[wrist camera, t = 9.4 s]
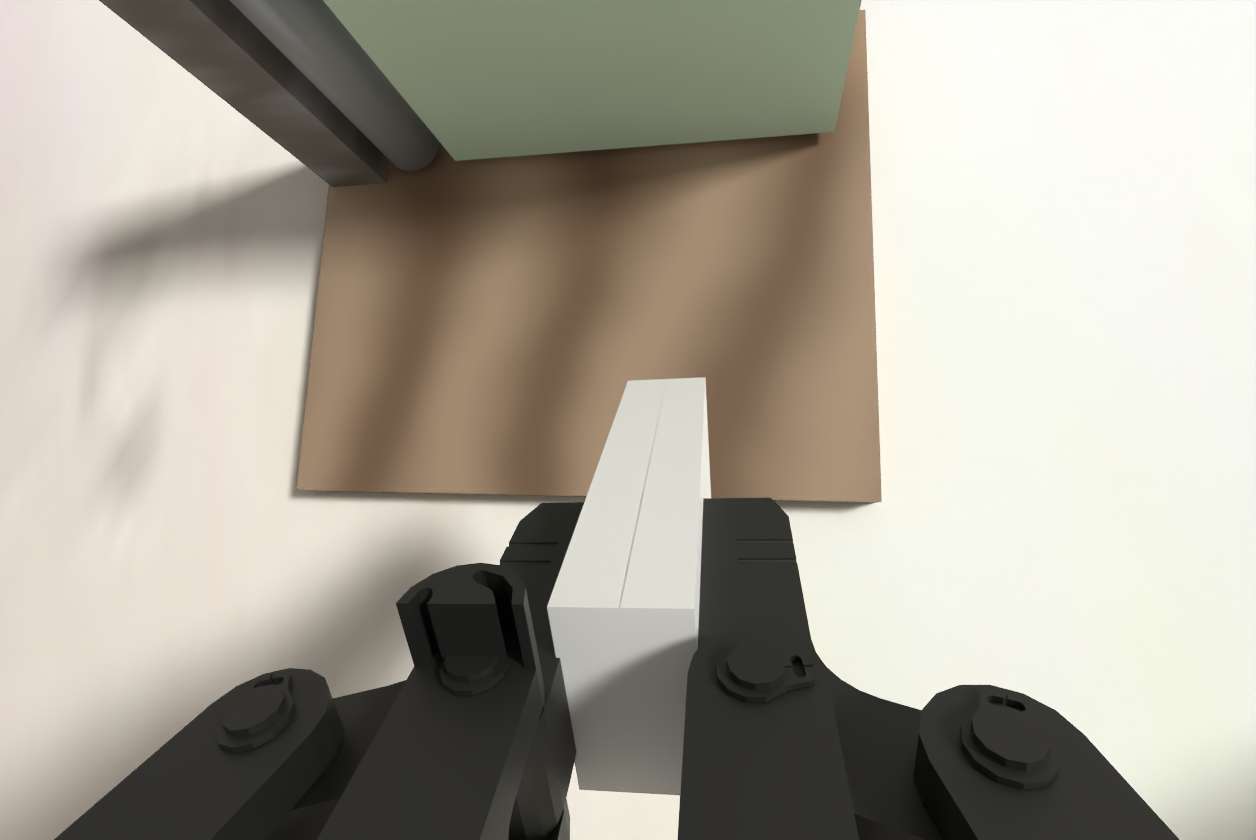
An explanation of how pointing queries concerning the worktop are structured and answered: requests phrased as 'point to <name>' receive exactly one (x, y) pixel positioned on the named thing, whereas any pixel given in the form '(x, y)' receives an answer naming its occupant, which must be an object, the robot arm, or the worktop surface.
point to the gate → (566, 70)
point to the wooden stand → (569, 293)
